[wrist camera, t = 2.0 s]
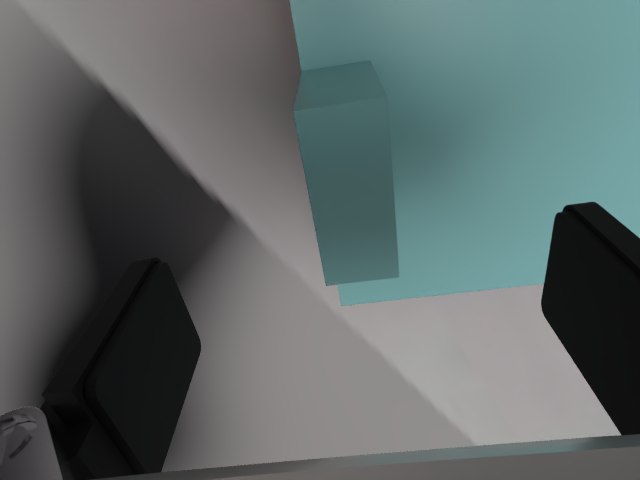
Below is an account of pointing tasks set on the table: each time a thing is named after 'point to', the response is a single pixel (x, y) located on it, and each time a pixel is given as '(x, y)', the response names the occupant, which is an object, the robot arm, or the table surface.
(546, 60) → the lid
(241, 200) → the table surface
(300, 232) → the table surface
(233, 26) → the table surface
